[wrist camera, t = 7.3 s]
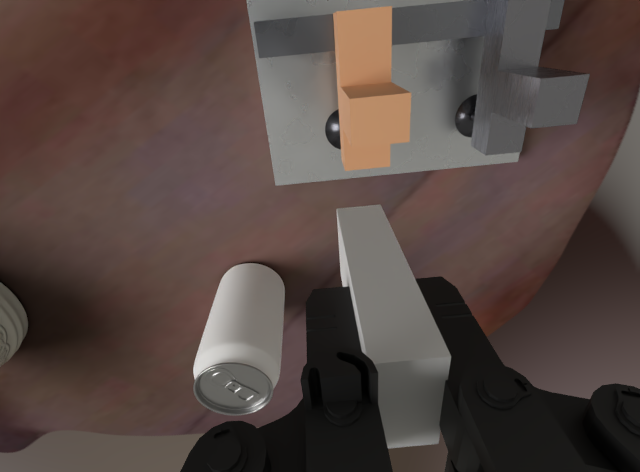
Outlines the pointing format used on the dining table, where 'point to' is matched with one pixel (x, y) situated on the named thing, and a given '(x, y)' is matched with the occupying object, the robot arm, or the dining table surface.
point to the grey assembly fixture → (413, 82)
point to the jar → (11, 324)
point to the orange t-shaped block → (368, 89)
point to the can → (241, 342)
